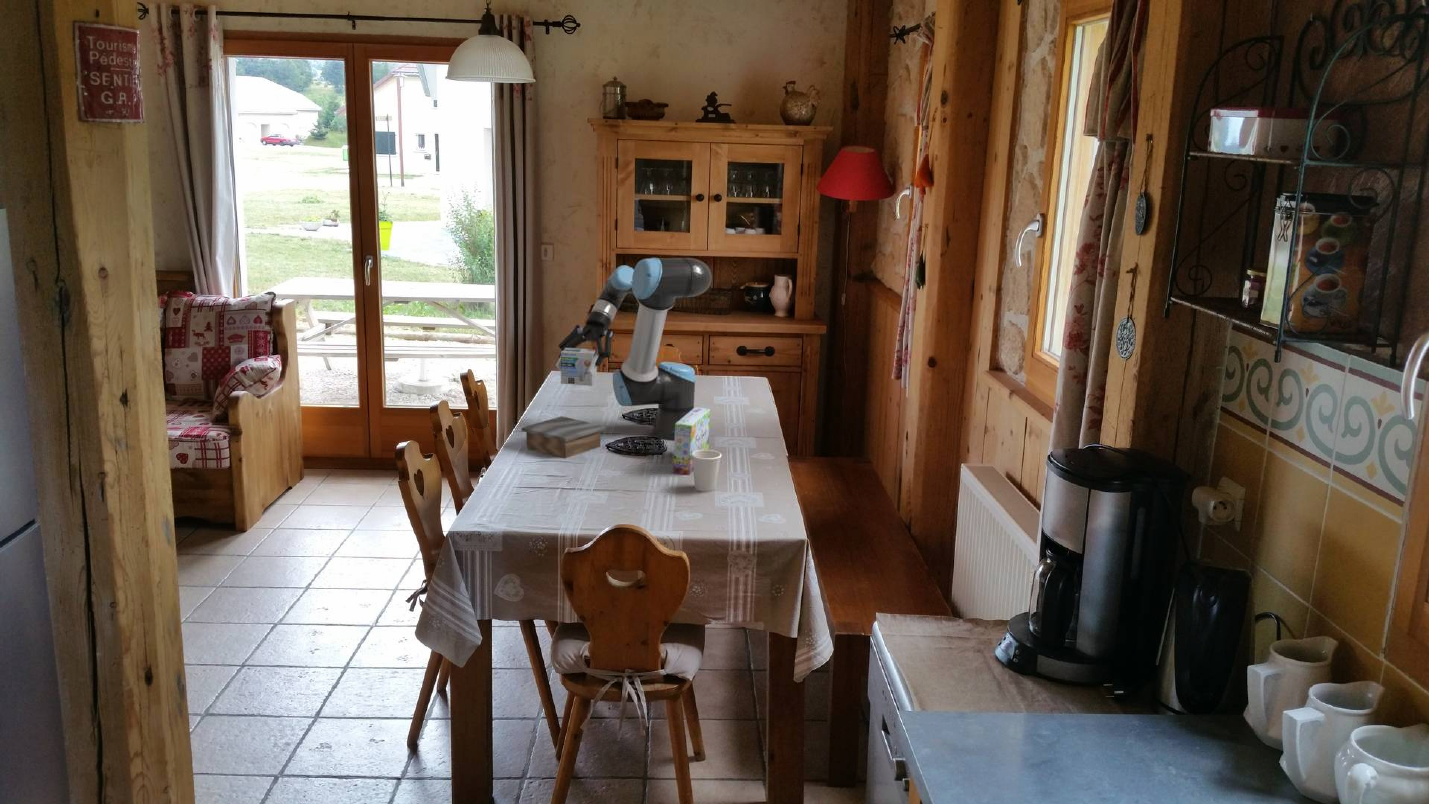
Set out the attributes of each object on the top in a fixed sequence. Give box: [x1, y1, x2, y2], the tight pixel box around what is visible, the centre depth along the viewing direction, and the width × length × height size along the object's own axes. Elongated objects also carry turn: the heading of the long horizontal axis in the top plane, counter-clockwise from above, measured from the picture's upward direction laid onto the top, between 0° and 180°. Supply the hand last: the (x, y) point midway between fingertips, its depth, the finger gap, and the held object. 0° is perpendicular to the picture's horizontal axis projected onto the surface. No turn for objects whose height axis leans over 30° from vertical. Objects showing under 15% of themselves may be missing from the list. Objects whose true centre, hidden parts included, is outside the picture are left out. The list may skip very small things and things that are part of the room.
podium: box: [521, 415, 606, 459], centre depth 332 cm, size 18×18×6 cm
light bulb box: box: [560, 347, 598, 387], centre depth 349 cm, size 11×7×11 cm, turn 85°
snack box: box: [672, 406, 711, 476], centre depth 319 cm, size 21×6×15 cm, turn 166°
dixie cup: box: [691, 449, 722, 493], centre depth 298 cm, size 8×8×10 cm
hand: (574, 370), depth 347 cm, fingers closed on light bulb box, 12 cm apart
